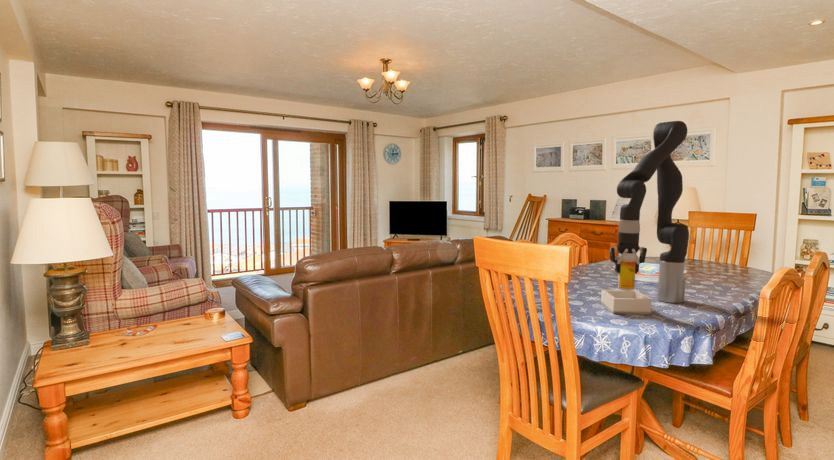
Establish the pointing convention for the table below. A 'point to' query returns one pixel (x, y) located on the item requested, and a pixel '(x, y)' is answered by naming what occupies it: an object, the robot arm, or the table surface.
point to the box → (625, 302)
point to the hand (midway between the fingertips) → (626, 272)
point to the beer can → (627, 272)
